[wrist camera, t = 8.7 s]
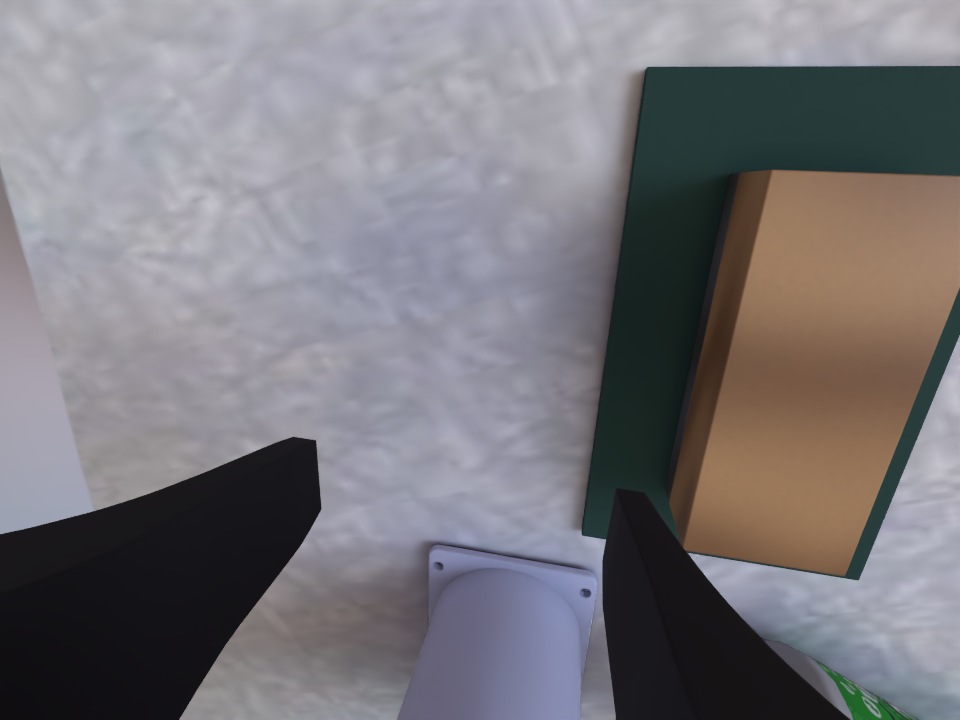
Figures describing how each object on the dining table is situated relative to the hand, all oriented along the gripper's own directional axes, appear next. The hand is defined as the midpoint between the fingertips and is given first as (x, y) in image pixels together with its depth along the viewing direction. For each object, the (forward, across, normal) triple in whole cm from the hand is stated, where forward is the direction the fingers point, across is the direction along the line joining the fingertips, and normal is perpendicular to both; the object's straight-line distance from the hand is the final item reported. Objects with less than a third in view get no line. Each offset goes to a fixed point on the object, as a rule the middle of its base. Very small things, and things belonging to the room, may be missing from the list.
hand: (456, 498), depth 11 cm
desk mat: (+9, -9, -2) cm, 13 cm away
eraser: (+8, -9, -2) cm, 13 cm away
